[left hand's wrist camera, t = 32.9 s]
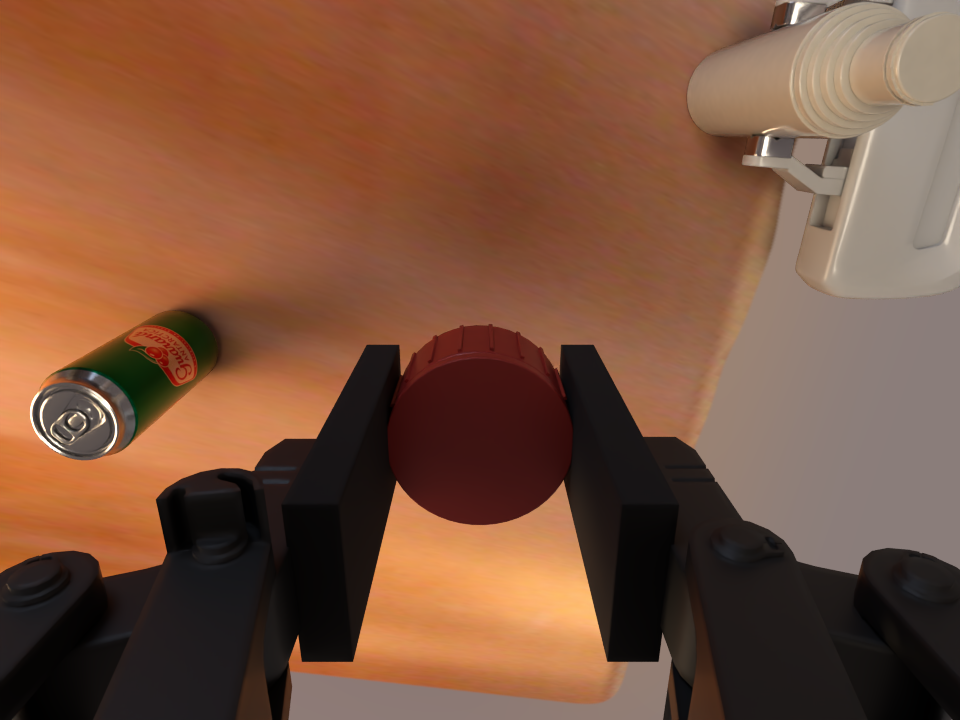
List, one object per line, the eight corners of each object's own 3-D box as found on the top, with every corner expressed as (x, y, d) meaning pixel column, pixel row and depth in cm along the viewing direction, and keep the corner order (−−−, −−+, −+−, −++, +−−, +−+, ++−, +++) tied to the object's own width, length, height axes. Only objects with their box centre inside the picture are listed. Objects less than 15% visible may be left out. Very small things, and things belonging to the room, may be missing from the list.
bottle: (689, 48, 35) (874, -26, 19) (775, 43, 35) (1036, -35, 19) (683, 138, 37) (849, 144, 21) (765, 134, 37) (997, 136, 20)
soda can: (236, 347, 42) (147, 426, 30) (189, 392, 43) (85, 484, 31) (178, 292, 40) (62, 354, 29) (130, 340, 41) (1, 418, 30)
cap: (563, 472, 15) (576, 524, 13) (404, 477, 15) (392, 531, 13) (563, 318, 14) (578, 351, 12) (389, 326, 14) (372, 360, 12)
